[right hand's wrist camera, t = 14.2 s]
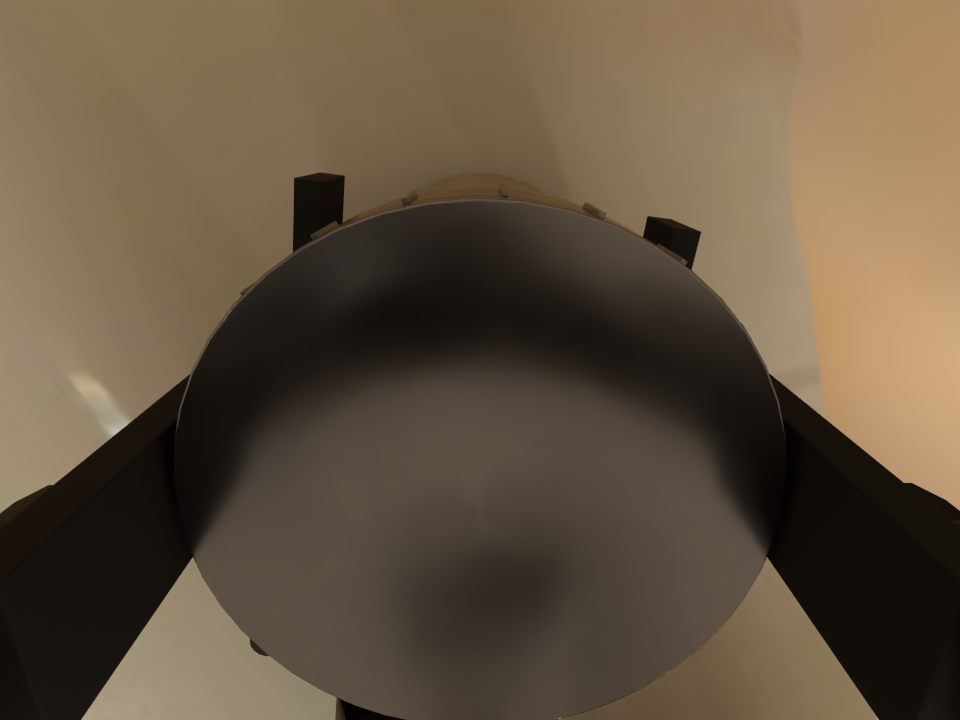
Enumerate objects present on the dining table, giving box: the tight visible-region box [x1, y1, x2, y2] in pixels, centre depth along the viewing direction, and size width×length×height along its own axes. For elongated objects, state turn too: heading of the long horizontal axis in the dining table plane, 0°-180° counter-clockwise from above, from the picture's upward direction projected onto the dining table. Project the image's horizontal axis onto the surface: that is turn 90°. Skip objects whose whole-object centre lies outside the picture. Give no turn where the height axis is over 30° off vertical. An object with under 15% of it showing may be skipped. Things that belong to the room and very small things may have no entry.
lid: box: [173, 184, 787, 720], centre depth 11 cm, size 11×11×2 cm
